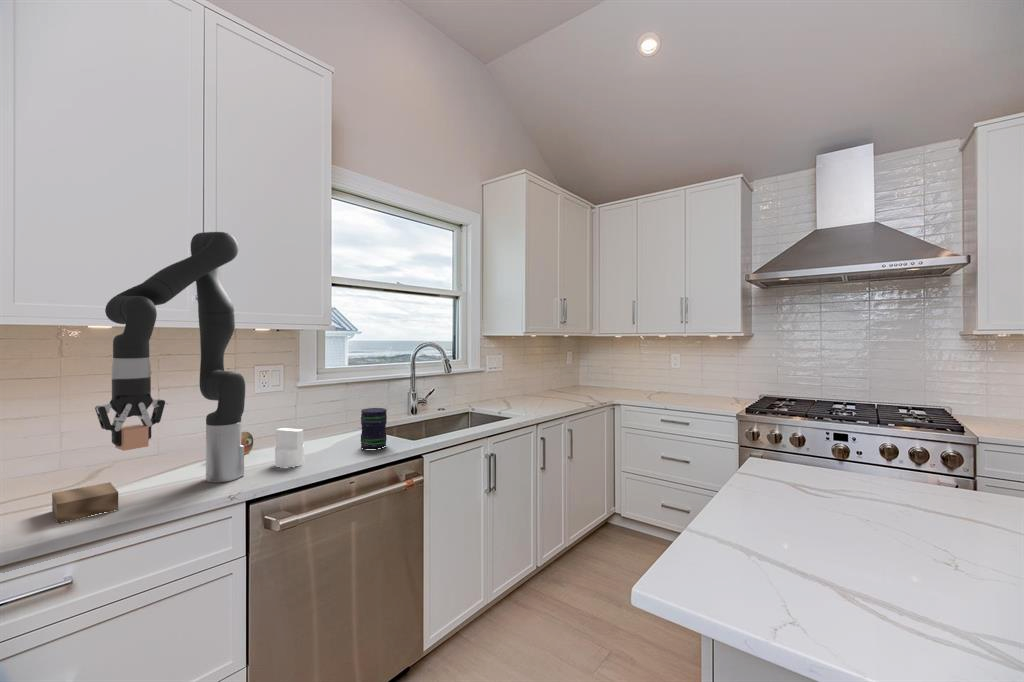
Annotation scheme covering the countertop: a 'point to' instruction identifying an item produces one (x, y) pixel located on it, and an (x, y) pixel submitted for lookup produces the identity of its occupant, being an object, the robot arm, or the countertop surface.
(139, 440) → the terracotta cube
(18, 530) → the countertop surface
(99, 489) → the walnut block
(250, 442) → the tin
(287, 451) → the white block
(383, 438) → the storage jar
